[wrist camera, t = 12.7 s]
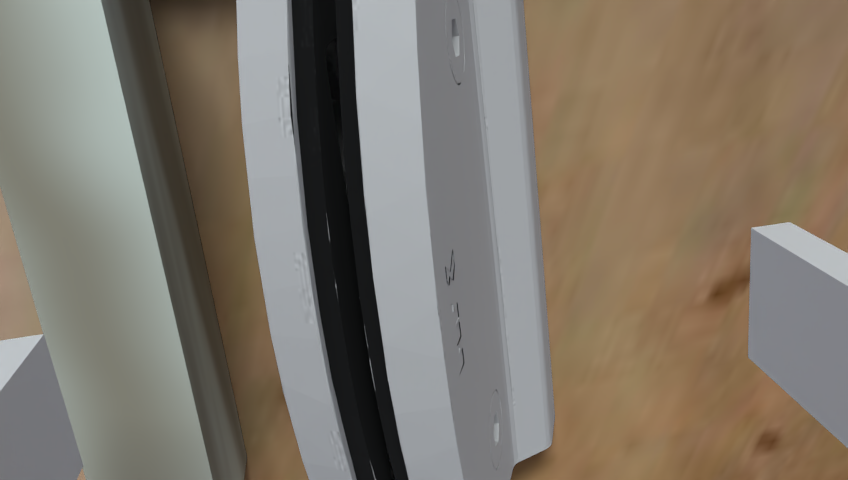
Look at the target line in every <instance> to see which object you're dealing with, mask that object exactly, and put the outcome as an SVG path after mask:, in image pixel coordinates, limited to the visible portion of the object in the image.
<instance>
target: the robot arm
mask: <svg viewBox="0 0 848 480" xmlns="http://www.w3.org/2000/svg"><path fill="white" fill-rule="evenodd" d="M748 358H749V359H750V360H752V361H753V362H754V363H755V364H756V365H757V366H758V367H759V368H760V369H761V370H763V371H764V372H765V373H766V374H767V375H768V376H769V377H770V378H771V379H772V380H774V381H775V382H776V383H777V384H778V385H779V386H780V387H781V388H782V389H783V390H784V391H786V392H787V393H788V394H789V395H790V396H791V397H792V398H793V399H794V400H795V401H797V402H798V403H799V404H800V405H801V406H802V407H803V408H804V409H805V410H806V411H808V412H809V413H810V414H811V415H812V416H813V417H814V418H815V419H816V420H817V421H818V422H820V423H821V424H822V425H823V426H824V427H825V428H826V429H827V430H828V431H829V432H831V433H832V434H833V435H834V436H835V437H836V438H837V439H838V440H839V441H840V442H842V443H843V444H844V445H845V446H846V447H847V448H848V253H846V252H844V251H842V250H840V249H838V248H837V247H835V246H833V245H831V244H829V243H827V242H825V241H824V240H822V239H820V238H818V237H816V236H814V235H812V234H811V233H809V232H807V231H805V230H803V229H801V228H800V227H798V226H796V225H794V224H792V223H790V222H788V223H781V224H774V225H768V226H761V227H754V228H751V259H750V299H749V339H748ZM82 467H83V463H82V459H81V456H80V453H79V449H78V446H77V443H76V439H75V436H74V433H73V429H72V426H71V423H70V419H69V416H68V413H67V409H66V406H65V403H64V399H63V396H62V393H61V389H60V386H59V383H58V379H57V376H56V373H55V369H54V366H53V362H52V359H51V356H50V352H49V349H48V346H47V342H46V339H45V336H44V334H42V335H35V336H28V337H22V338H15V339H8V340H2V341H0V480H77V478H78V476H79V474H80V471H81V469H82Z"/></svg>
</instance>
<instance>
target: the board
mask: <svg viewBox="0 0 848 480" xmlns="http://www.w3.org/2000/svg"><path fill="white" fill-rule="evenodd" d="M0 187H1V191H2V194H3V198H4V201H5V204H6V208H7V211H8V215H9V218H10V221H11V225H12V228H13V232H14V235H15V239H16V242H17V245H18V249H19V252H20V256H21V259H22V262H23V266H24V269H25V273H26V276H27V280H28V283H29V286H30V290H31V293H32V297H33V300H34V303H35V307H36V310H37V314H38V317H39V321H40V324H41V327H42V331H43V334H44V336H45V339H46V342H47V346H48V349H49V352H50V356H51V359H52V362H53V366H54V369H55V373H56V376H57V379H58V383H59V386H60V389H61V393H62V396H63V399H64V403H65V406H66V409H67V413H68V416H69V419H70V423H71V426H72V429H73V433H74V436H75V439H76V443H77V446H78V449H79V453H80V456H81V459H82V463H83V471H84V474H85V478H86V480H244V476H245V469H246V462H247V455H246V450H245V445H244V441H243V436H242V431H241V427H240V422H239V417H238V413H237V408H236V403H235V399H234V394H233V389H232V385H231V380H230V375H229V371H228V366H227V361H226V357H225V352H224V347H223V343H222V338H221V333H220V329H219V324H218V319H217V315H216V310H215V305H214V301H213V296H212V291H211V287H210V282H209V277H208V273H207V268H206V263H205V259H204V254H203V249H202V245H201V240H200V235H199V231H198V226H197V221H196V217H195V212H194V207H193V203H192V198H191V193H190V189H189V184H188V179H187V175H186V170H185V165H184V161H183V156H182V151H181V147H180V142H179V138H178V133H177V128H176V124H175V119H174V114H173V110H172V105H171V100H170V96H169V91H168V86H167V82H166V77H165V72H164V68H163V63H162V58H161V54H160V49H159V44H158V40H157V35H156V30H155V26H154V21H153V16H152V12H151V7H150V2H149V0H0Z"/></svg>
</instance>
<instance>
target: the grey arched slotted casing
mask: <svg viewBox="0 0 848 480" xmlns="http://www.w3.org/2000/svg"><path fill="white" fill-rule="evenodd" d="M236 3H237V39H238V66H239V82H240V98H241V114H242V128H243V138H244V147H245V157H246V166H247V175H248V185H249V194H250V203H251V212H252V221H253V230H254V239H255V245H256V251H257V257H258V262H259V268H260V274H261V280H262V286H263V292H264V298H265V304H266V310H267V315H268V321H269V327H270V333H271V338H272V343H273V347H274V352H275V356H276V361H277V365H278V370H279V374H280V379H281V383H282V388H283V392H284V396H285V400H286V403H287V407H288V410H289V414H290V418H291V421H292V425H293V428H294V432H295V435H296V439H297V442H298V446H299V450H300V453H301V457H302V460H303V463H304V466H305V469H306V472H307V475H308V478H309V480H510V479H511V475H512V471H513V468H514V466H515V465H516V464H517V463H518V462H520V461H522V460H524V459H526V458H529V457H531V456H533V455H535V454H537V453H539V452H541V451H543V450H545V449H547V448H548V447H550V446H551V444H552V437H553V429H554V420H555V411H554V398H553V385H552V372H551V359H550V345H549V332H548V319H547V306H546V293H545V280H544V267H543V253H542V240H541V227H540V214H539V201H538V188H537V175H536V161H535V148H534V135H533V122H532V109H531V96H530V82H529V69H528V56H527V43H526V30H525V17H524V4H523V0H236Z"/></svg>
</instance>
